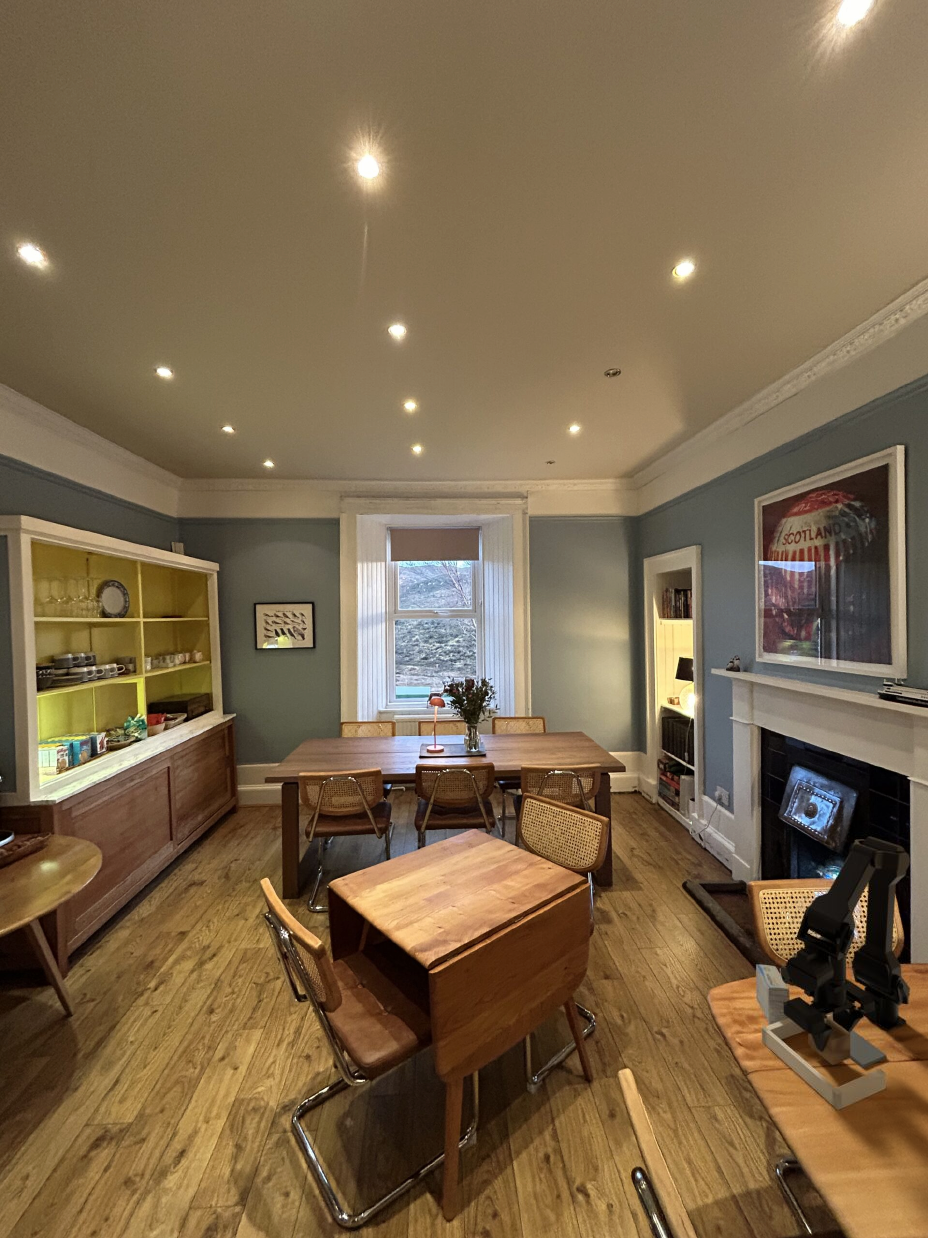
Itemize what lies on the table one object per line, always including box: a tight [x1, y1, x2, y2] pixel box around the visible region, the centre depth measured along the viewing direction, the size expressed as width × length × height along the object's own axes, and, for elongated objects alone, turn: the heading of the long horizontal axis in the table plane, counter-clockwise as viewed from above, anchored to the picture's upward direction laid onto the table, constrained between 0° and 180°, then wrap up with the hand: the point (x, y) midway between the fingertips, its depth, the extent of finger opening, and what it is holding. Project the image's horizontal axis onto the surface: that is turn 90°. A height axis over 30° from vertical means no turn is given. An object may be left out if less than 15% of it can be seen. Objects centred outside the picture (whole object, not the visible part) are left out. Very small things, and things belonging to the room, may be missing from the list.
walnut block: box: [808, 1015, 851, 1066], centre depth 104 cm, size 5×5×5 cm
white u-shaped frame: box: [761, 1018, 887, 1111], centre depth 104 cm, size 13×16×3 cm
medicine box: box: [755, 964, 791, 1025], centre depth 117 cm, size 8×4×9 cm, turn 168°
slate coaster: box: [828, 1014, 887, 1069], centre depth 109 cm, size 7×11×1 cm, turn 19°
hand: (829, 1046), depth 104 cm, fingers closed on walnut block, 5 cm apart
